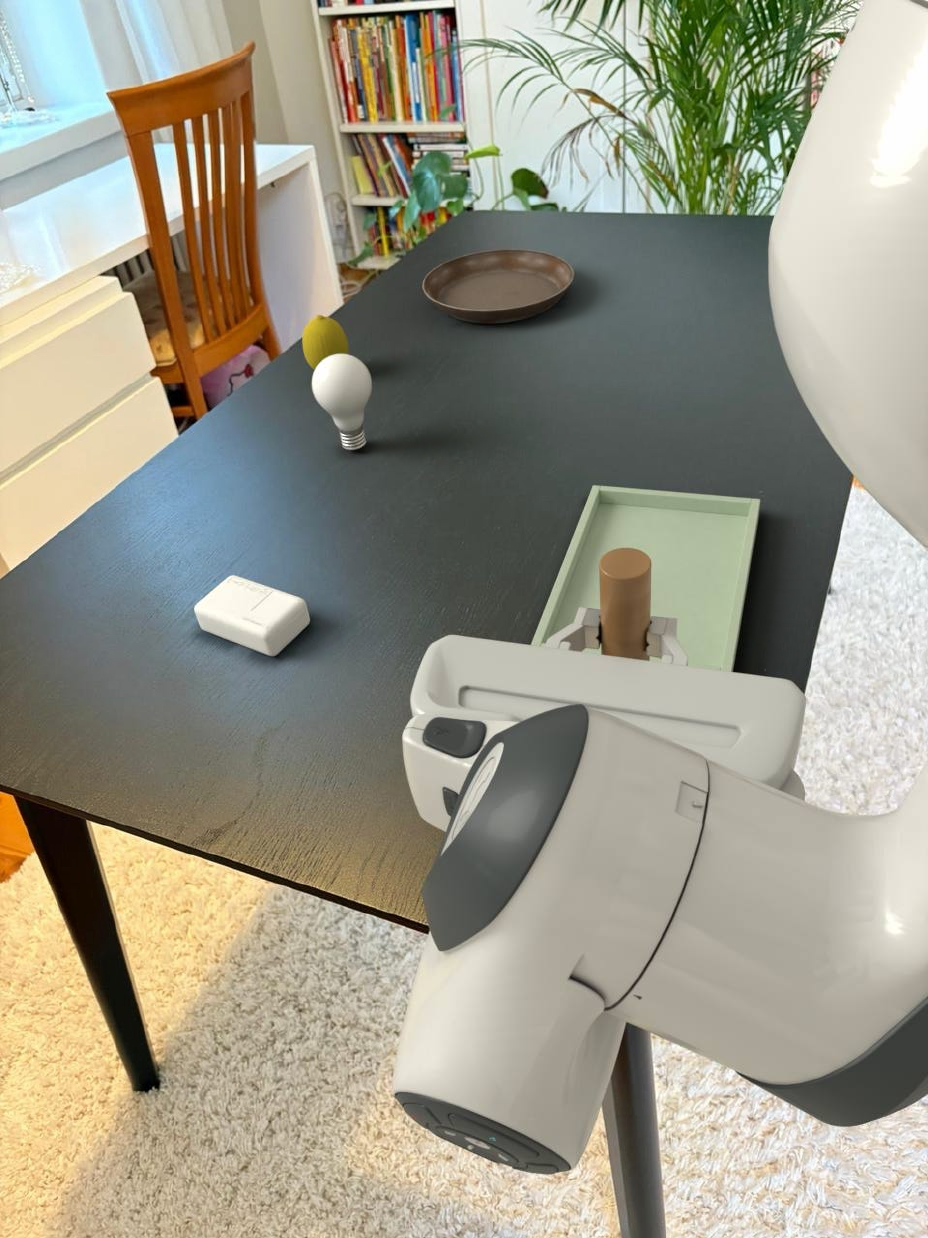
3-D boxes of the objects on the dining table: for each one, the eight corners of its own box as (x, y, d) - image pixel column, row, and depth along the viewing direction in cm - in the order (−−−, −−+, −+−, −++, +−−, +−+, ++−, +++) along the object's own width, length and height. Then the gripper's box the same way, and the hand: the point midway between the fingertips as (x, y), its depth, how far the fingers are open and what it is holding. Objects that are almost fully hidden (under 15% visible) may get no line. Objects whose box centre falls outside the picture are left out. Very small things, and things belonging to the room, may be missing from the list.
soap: (198, 631, 87) (188, 606, 85) (239, 595, 90) (230, 570, 88) (274, 661, 83) (266, 635, 81) (314, 622, 86) (307, 596, 84)
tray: (758, 517, 91) (760, 498, 89) (728, 695, 74) (730, 675, 73) (593, 502, 95) (592, 484, 94) (530, 666, 79) (529, 647, 77)
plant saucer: (600, 279, 136) (600, 256, 134) (528, 342, 124) (526, 317, 121) (475, 263, 146) (473, 241, 143) (396, 320, 133) (392, 296, 131)
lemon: (361, 368, 123) (349, 307, 118) (339, 389, 119) (326, 327, 114) (324, 364, 125) (311, 304, 120) (301, 384, 121) (287, 323, 116)
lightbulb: (361, 468, 105) (342, 375, 98) (315, 457, 108) (293, 365, 100) (394, 440, 109) (378, 348, 101) (349, 429, 111) (330, 339, 104)
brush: (678, 705, 61) (686, 545, 53) (669, 752, 58) (675, 591, 50) (585, 691, 63) (578, 535, 55) (571, 737, 60) (562, 579, 52)
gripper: (809, 804, 42) (824, 599, 51) (371, 730, 48) (457, 560, 57) (793, 888, 46) (809, 684, 55) (391, 810, 52) (469, 639, 62)
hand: (627, 620), depth 56 cm, fingers closed on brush, 3 cm apart
